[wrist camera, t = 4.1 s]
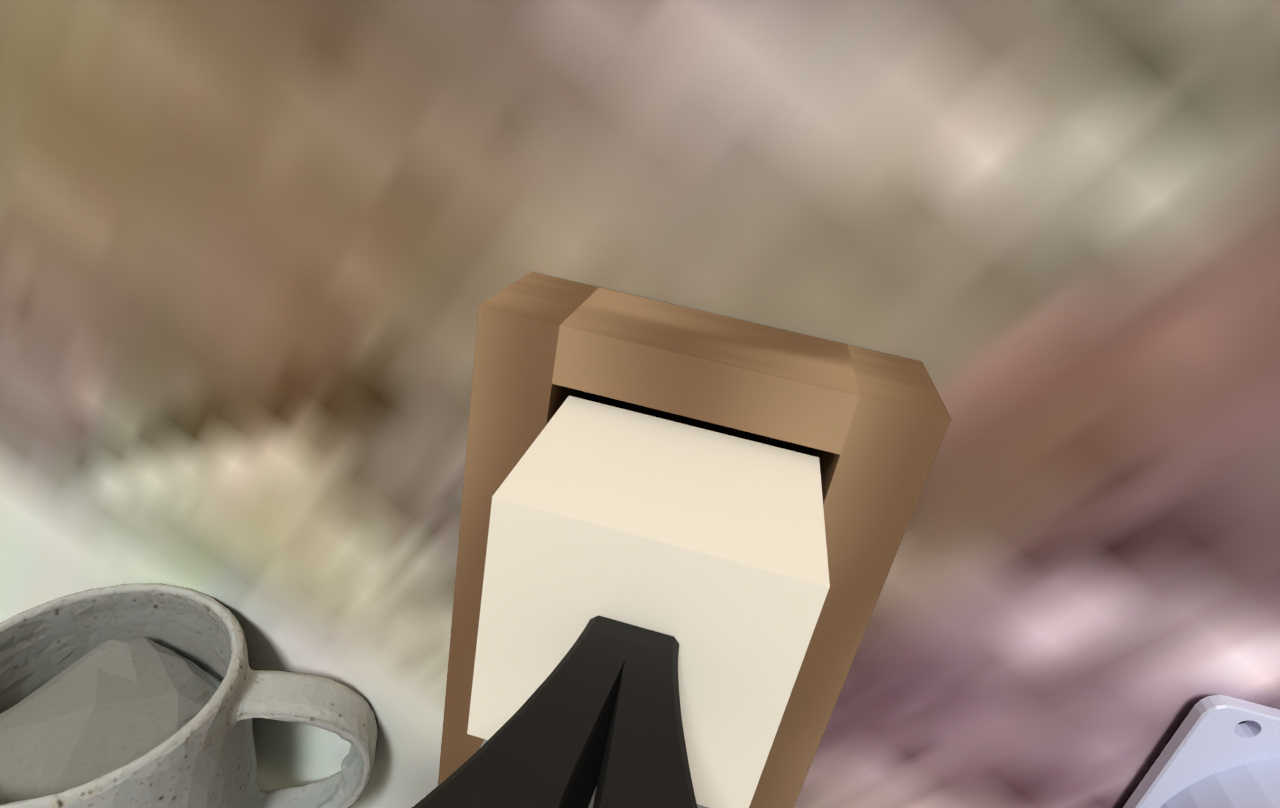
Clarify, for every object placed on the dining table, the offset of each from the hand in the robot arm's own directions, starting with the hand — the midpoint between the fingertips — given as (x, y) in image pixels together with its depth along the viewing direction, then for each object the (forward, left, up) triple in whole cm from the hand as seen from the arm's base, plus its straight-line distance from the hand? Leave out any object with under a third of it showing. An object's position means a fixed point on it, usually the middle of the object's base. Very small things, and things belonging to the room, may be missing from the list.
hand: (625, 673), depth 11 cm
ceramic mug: (+13, +12, -7) cm, 19 cm away
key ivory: (0, 0, -4) cm, 4 cm away
